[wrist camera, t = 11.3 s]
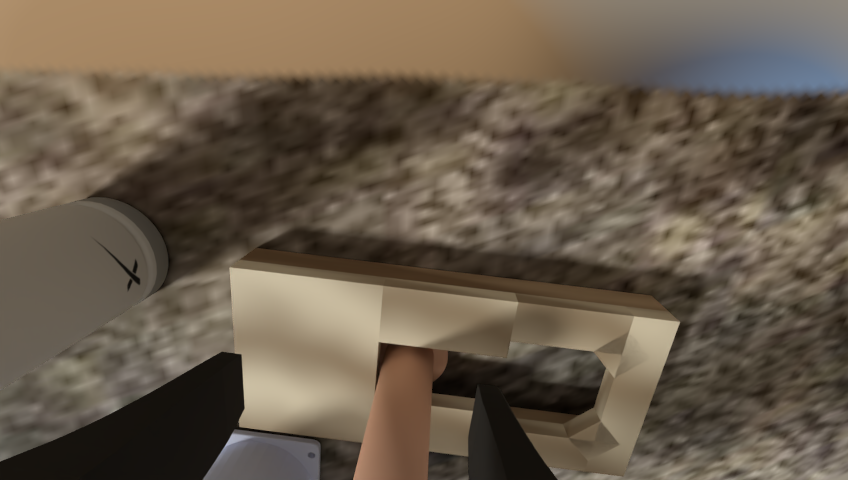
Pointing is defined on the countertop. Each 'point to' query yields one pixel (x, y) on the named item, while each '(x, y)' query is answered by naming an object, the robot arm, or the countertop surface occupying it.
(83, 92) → the countertop surface
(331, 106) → the countertop surface
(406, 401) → the terracotta peg
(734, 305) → the countertop surface
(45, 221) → the travel mug
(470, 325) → the keyhole plate
